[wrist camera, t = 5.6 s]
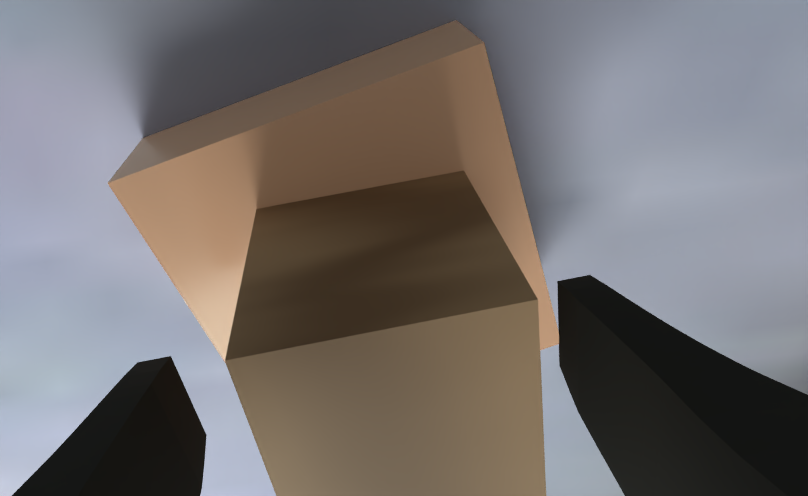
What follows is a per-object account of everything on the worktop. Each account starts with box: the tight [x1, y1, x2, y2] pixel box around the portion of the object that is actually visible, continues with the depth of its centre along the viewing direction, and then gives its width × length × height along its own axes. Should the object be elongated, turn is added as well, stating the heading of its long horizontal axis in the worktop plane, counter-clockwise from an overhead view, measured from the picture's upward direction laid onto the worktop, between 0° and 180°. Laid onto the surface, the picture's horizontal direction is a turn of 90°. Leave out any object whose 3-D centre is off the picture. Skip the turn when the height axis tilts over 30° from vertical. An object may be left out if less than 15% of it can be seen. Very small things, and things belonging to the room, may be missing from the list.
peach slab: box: [108, 20, 559, 363], centre depth 15 cm, size 8×8×3 cm
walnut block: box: [225, 171, 546, 496], centre depth 12 cm, size 4×4×5 cm
